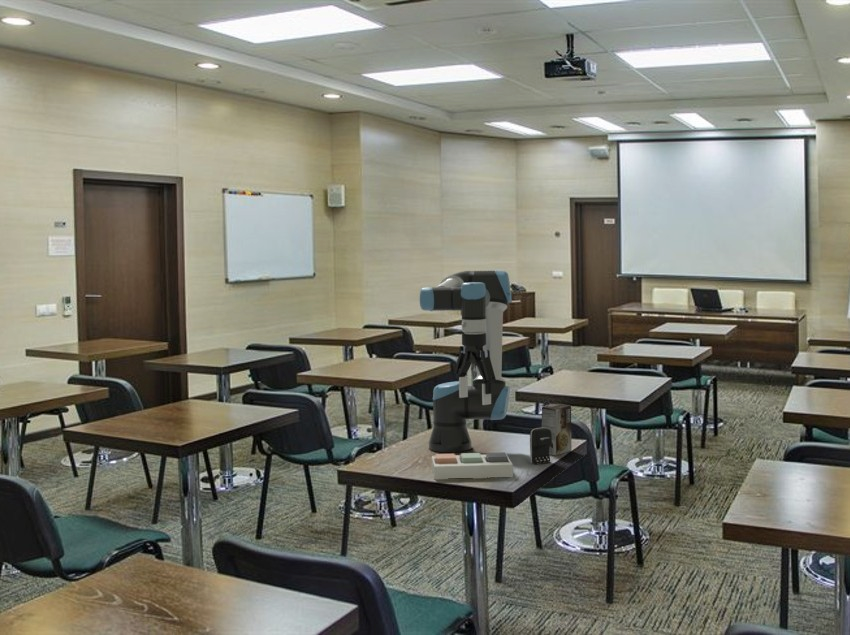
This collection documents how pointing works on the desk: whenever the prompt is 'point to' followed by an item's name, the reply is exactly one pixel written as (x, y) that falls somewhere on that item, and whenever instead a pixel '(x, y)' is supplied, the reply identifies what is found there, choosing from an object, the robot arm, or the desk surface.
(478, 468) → the keypad
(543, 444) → the black rounded block
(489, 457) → the key charcoal
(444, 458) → the key terracotta
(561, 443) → the coffee box
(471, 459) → the key sage
